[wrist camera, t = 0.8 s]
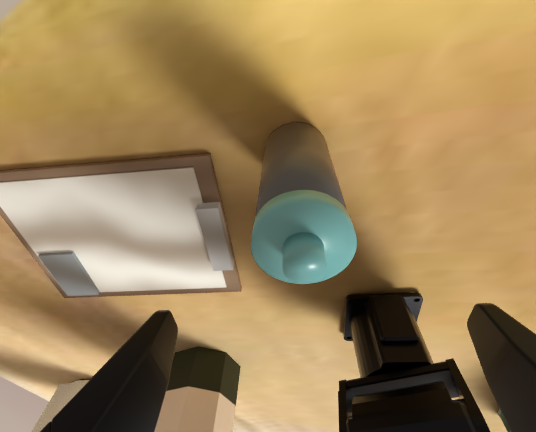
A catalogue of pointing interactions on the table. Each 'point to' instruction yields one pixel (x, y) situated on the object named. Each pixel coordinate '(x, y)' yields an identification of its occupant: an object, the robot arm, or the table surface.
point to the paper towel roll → (58, 402)
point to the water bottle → (301, 210)
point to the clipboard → (124, 226)
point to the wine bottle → (200, 392)
